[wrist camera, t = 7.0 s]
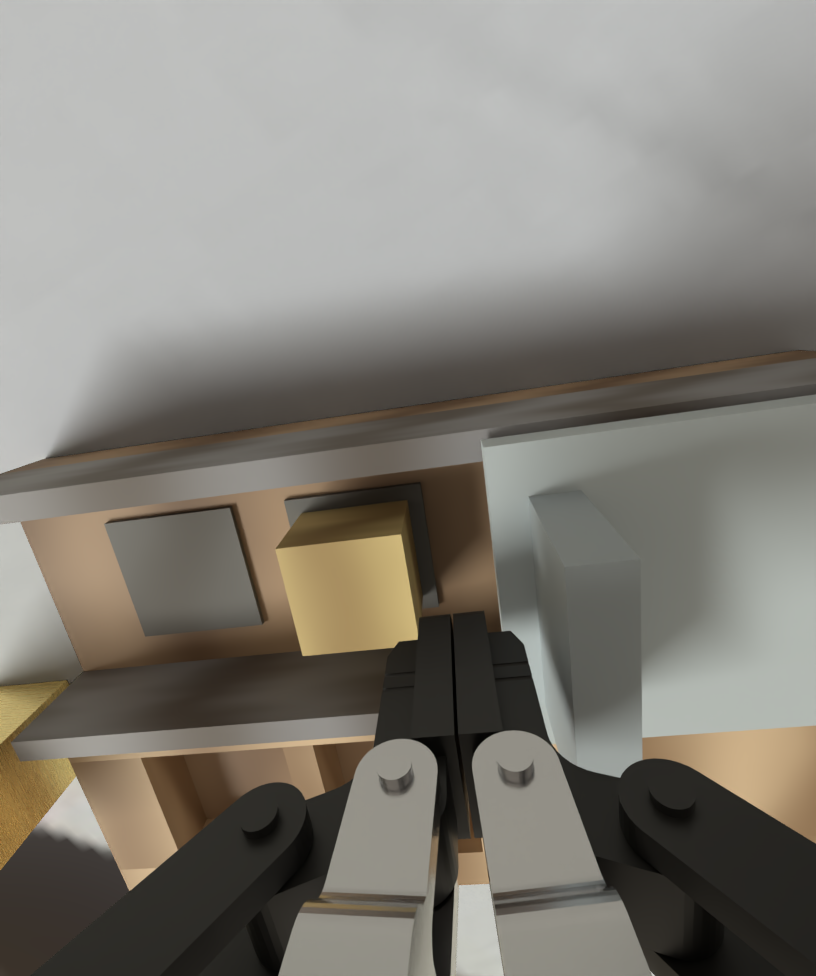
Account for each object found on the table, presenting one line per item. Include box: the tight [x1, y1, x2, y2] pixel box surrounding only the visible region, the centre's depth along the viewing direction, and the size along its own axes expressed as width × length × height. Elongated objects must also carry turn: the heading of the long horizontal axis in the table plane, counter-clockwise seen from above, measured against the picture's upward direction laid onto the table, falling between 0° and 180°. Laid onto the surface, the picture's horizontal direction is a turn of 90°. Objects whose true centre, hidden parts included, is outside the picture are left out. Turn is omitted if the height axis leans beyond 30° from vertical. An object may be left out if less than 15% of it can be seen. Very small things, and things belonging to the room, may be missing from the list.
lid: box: [481, 394, 816, 778], centre depth 11 cm, size 12×9×4 cm
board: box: [0, 350, 816, 891], centre depth 18 cm, size 27×18×6 cm, turn 99°
